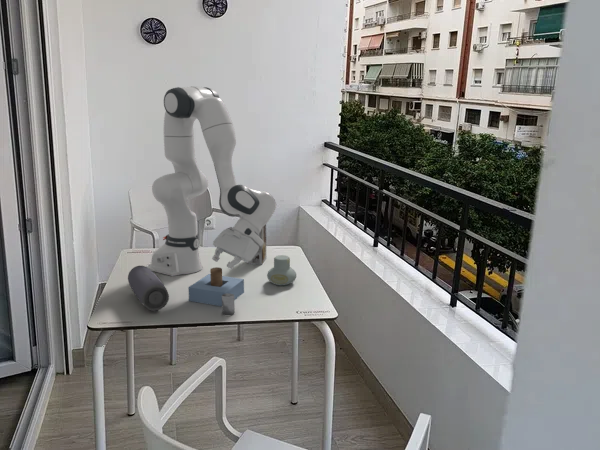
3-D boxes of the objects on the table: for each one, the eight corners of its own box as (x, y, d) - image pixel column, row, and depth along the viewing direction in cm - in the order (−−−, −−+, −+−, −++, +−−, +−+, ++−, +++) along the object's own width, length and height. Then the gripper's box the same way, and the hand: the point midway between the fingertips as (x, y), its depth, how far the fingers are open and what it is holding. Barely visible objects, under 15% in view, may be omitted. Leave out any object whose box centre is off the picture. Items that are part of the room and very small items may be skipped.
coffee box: (252, 257, 223) (251, 221, 219) (266, 258, 222) (266, 221, 218) (247, 263, 214) (246, 226, 210) (262, 264, 213) (262, 227, 209)
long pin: (209, 297, 178) (208, 270, 176) (214, 293, 182) (213, 266, 179) (219, 299, 177) (218, 271, 174) (224, 295, 181) (224, 268, 178)
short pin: (219, 314, 165) (219, 297, 163) (225, 309, 169) (225, 292, 167) (231, 316, 164) (230, 298, 162) (236, 311, 167) (236, 294, 166)
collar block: (188, 300, 175) (188, 287, 174) (209, 286, 188) (208, 273, 187) (225, 307, 171) (225, 292, 170) (244, 292, 184) (243, 279, 182)
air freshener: (298, 280, 197) (298, 255, 194) (293, 287, 189) (294, 262, 186) (270, 277, 198) (270, 253, 196) (265, 285, 191) (264, 259, 188)
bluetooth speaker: (171, 311, 167) (170, 282, 164) (142, 317, 162) (140, 287, 160) (153, 288, 186) (152, 262, 184) (127, 292, 182) (125, 266, 179)
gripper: (223, 221, 187) (200, 251, 184) (256, 233, 172) (231, 266, 169) (233, 231, 191) (211, 261, 188) (266, 244, 176) (243, 276, 173)
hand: (221, 263), depth 178 cm, fingers open, 8 cm apart
